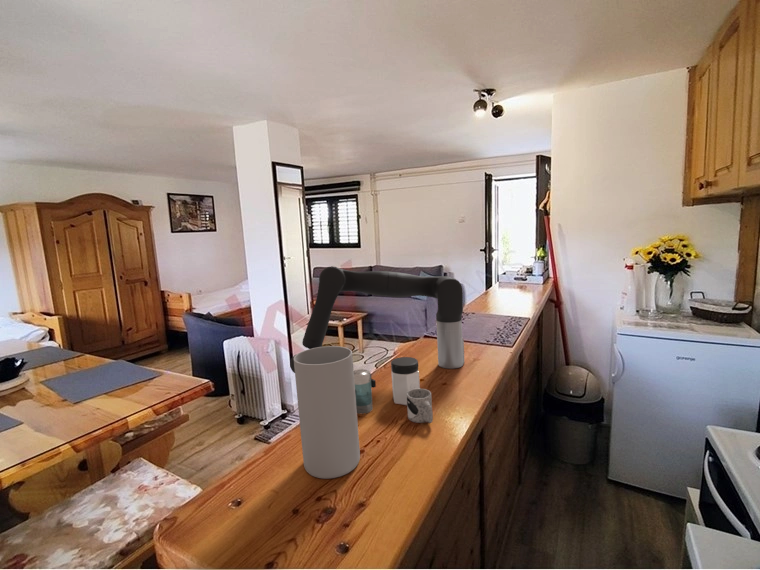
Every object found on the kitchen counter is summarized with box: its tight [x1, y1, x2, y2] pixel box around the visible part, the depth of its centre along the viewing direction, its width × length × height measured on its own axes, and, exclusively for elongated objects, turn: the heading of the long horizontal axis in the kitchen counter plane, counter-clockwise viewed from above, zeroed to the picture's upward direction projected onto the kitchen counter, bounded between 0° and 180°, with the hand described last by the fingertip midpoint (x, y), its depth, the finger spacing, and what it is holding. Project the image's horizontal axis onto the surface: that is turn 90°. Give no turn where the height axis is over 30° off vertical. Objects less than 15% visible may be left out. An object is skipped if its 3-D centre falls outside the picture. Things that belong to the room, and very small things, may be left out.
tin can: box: [354, 368, 374, 415], centre depth 107 cm, size 6×6×11 cm
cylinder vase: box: [293, 345, 361, 480], centre depth 82 cm, size 12×12×25 cm
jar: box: [390, 356, 421, 406], centre depth 112 cm, size 9×8×12 cm
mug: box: [406, 388, 434, 424], centre depth 99 cm, size 10×7×7 cm, turn 21°
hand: (363, 388), depth 107 cm, fingers open, 8 cm apart
